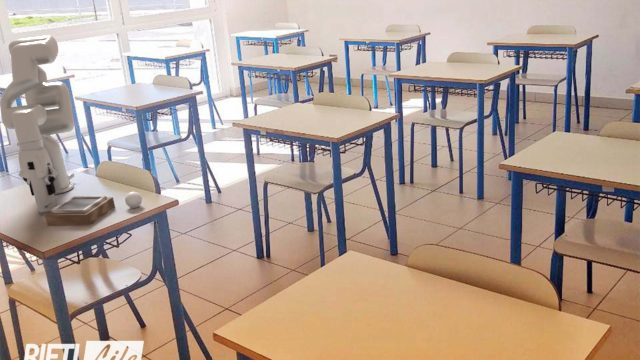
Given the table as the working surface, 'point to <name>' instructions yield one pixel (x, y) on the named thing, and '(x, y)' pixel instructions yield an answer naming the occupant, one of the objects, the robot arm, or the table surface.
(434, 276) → the table surface
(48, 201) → the travel mug
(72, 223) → the display stand
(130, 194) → the white egg
